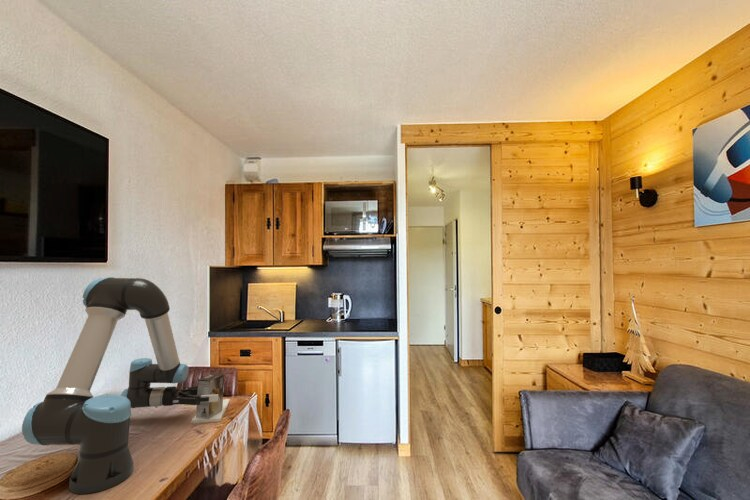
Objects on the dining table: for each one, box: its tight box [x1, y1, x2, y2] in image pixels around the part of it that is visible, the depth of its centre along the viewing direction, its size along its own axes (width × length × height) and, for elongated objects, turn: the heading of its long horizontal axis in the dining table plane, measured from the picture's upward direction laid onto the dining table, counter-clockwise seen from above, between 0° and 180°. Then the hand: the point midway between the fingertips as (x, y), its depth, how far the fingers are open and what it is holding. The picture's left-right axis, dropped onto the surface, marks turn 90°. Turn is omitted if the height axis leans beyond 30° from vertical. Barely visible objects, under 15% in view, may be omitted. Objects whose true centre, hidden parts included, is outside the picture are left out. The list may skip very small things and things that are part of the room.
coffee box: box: [195, 373, 225, 419], centre depth 145 cm, size 9×6×16 cm
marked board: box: [191, 398, 231, 424], centre depth 150 cm, size 22×11×1 cm, turn 14°
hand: (220, 393), depth 146 cm, fingers open, 10 cm apart
